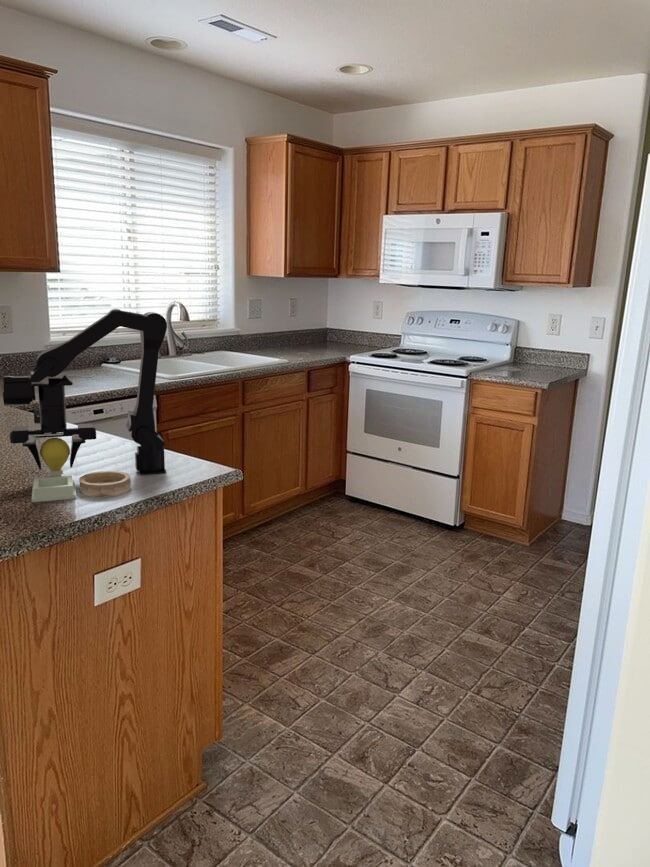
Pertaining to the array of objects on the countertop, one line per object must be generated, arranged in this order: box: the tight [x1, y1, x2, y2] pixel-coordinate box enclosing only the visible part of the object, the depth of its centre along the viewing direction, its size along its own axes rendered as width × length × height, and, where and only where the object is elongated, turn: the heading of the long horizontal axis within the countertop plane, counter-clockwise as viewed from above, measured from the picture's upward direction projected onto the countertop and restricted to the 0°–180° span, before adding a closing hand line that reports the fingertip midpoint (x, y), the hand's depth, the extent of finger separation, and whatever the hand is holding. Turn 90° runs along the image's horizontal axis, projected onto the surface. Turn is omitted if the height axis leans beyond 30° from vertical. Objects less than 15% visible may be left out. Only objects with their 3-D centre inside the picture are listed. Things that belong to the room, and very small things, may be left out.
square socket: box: [31, 475, 77, 503], centre depth 150 cm, size 9×9×3 cm
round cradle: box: [78, 470, 132, 498], centre depth 154 cm, size 11×11×3 cm
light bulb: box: [39, 437, 71, 477], centre depth 160 cm, size 7×7×10 cm
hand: (55, 468), depth 161 cm, fingers closed on light bulb, 6 cm apart
